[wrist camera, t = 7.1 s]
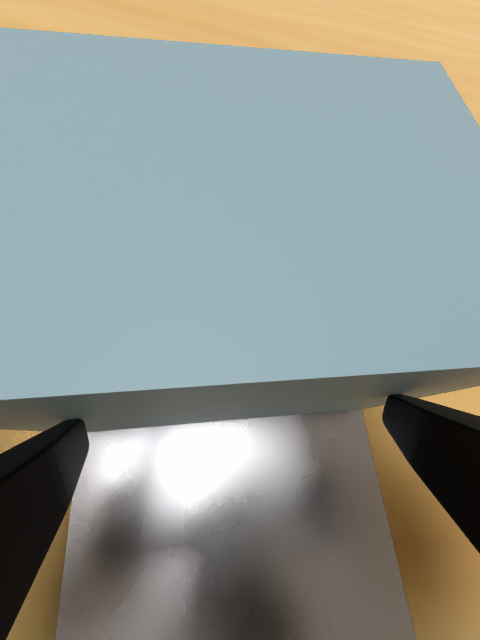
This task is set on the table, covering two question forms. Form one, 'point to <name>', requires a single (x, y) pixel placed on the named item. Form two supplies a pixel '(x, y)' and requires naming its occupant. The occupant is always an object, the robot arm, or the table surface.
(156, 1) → the table surface
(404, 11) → the table surface
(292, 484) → the dark grey case
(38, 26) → the table surface
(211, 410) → the pale blue box
